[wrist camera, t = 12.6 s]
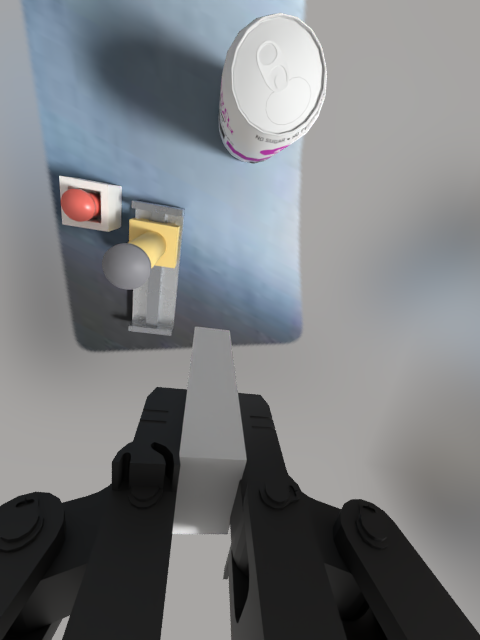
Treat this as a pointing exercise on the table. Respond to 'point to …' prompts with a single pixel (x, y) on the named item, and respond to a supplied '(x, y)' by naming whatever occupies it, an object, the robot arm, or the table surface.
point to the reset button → (81, 204)
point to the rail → (157, 278)
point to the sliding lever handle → (141, 253)
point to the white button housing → (109, 203)
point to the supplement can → (270, 87)
